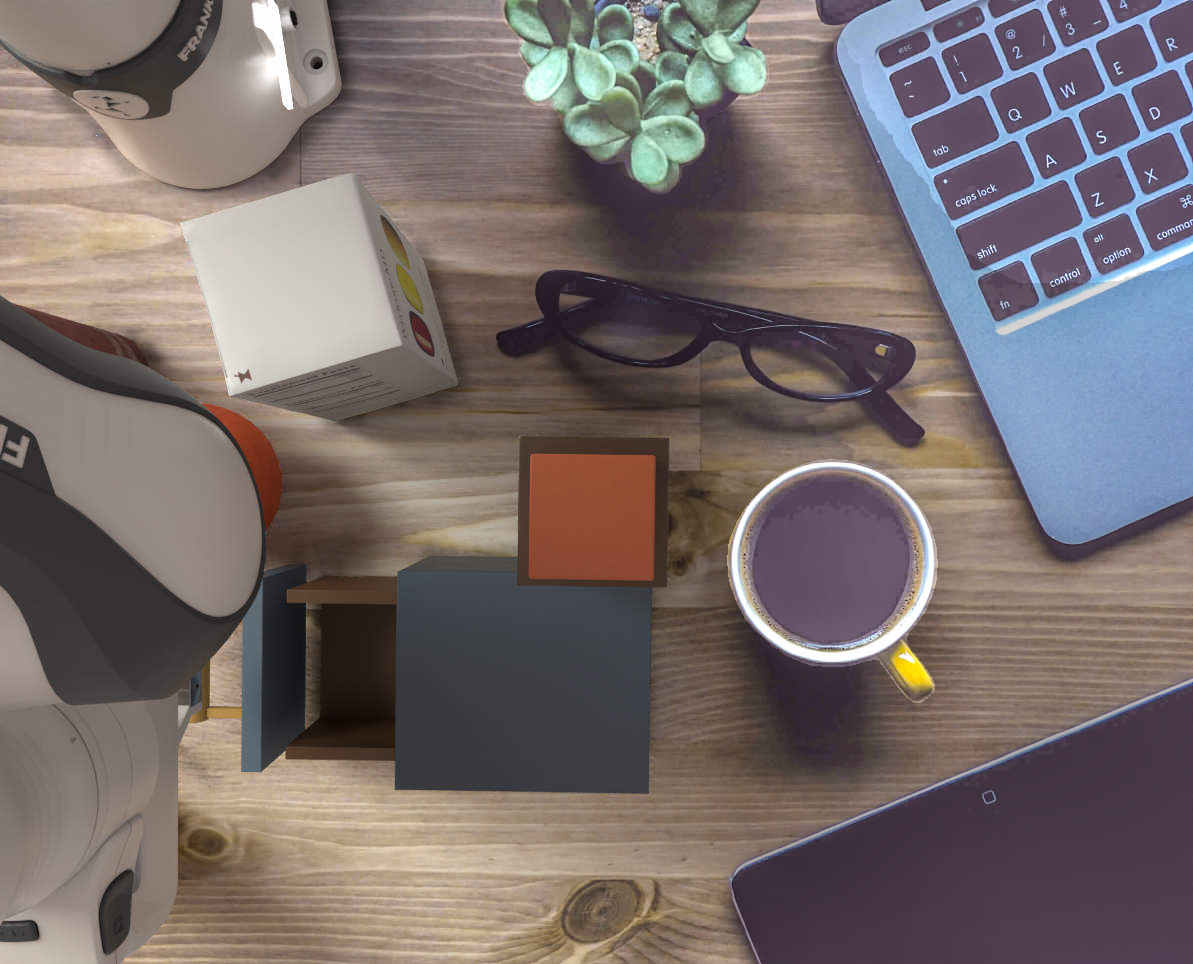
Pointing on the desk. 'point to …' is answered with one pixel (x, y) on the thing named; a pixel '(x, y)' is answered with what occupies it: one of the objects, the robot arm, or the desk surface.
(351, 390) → the supplement box
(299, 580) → the drawer
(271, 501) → the tomato
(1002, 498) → the desk surface
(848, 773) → the desk surface
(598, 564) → the block
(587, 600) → the cabinet
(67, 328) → the can
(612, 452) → the stand
